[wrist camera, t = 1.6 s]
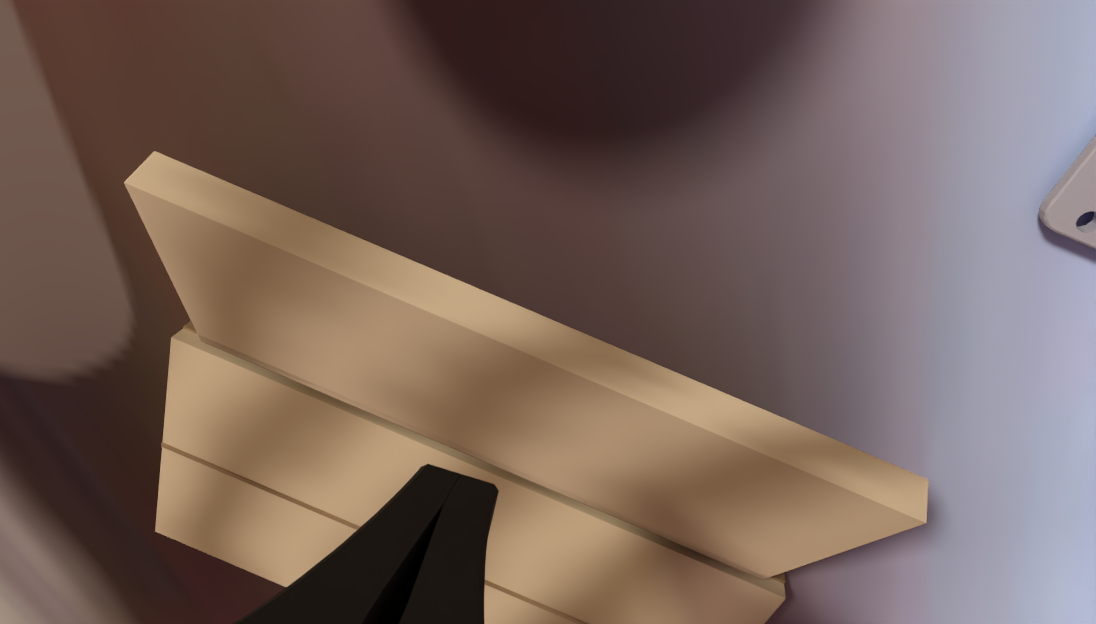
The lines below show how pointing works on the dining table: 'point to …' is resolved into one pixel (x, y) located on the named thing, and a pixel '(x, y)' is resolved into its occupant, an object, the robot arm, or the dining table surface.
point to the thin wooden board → (376, 476)
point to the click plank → (513, 383)
